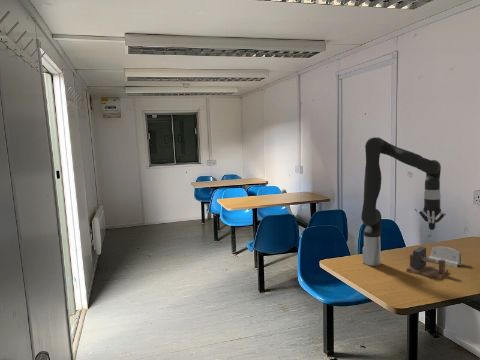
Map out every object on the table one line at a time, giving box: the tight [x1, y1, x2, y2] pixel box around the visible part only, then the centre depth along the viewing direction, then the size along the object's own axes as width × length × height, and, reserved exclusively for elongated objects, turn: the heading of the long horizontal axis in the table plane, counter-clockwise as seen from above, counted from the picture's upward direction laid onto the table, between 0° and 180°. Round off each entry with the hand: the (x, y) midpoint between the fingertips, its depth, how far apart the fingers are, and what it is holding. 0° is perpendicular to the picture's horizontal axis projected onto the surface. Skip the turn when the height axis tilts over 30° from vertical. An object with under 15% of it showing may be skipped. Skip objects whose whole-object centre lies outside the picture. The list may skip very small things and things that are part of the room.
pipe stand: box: [406, 253, 449, 280], centre depth 187 cm, size 17×12×8 cm
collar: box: [412, 246, 427, 270], centre depth 190 cm, size 3×10×10 cm, turn 131°
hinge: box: [428, 245, 462, 268], centre depth 200 cm, size 17×5×10 cm, turn 34°
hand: (432, 229), depth 183 cm, fingers closed
